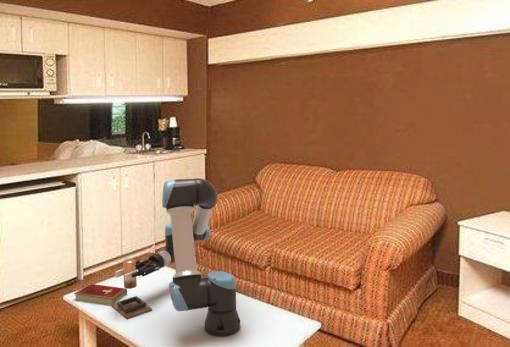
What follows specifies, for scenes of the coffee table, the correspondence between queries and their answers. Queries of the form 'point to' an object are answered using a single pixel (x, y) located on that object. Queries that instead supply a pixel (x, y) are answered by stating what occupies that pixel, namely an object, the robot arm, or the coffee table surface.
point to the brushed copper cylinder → (128, 267)
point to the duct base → (131, 307)
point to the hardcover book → (100, 294)
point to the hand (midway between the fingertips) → (120, 276)
